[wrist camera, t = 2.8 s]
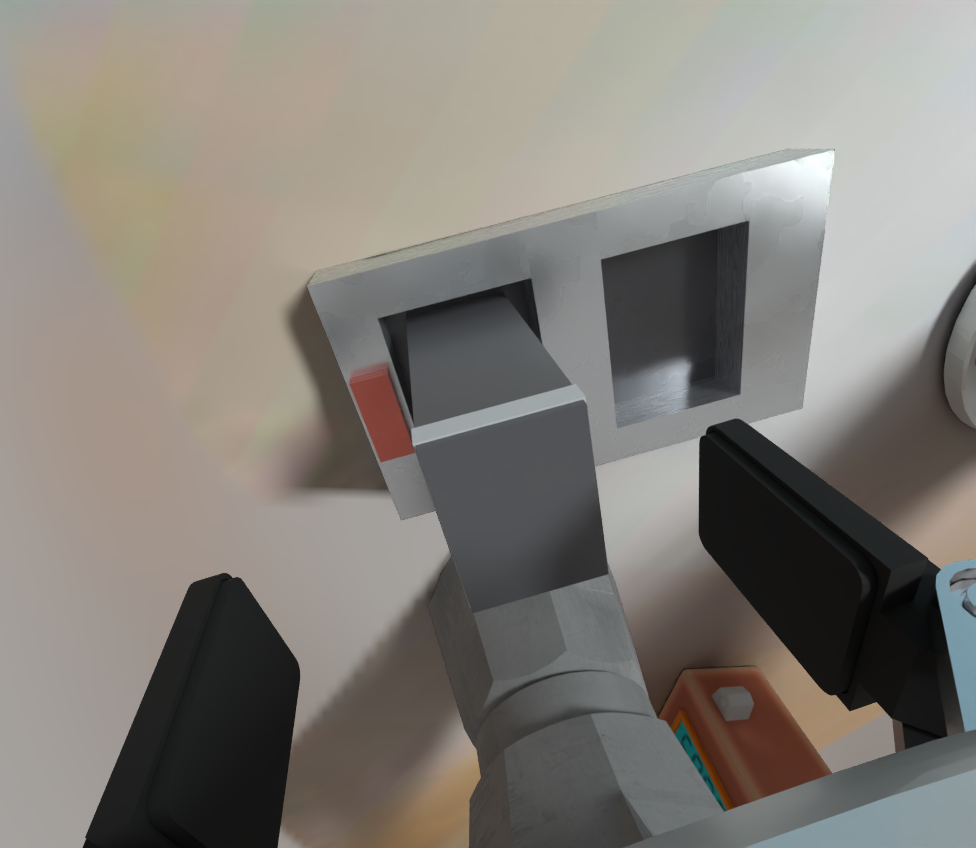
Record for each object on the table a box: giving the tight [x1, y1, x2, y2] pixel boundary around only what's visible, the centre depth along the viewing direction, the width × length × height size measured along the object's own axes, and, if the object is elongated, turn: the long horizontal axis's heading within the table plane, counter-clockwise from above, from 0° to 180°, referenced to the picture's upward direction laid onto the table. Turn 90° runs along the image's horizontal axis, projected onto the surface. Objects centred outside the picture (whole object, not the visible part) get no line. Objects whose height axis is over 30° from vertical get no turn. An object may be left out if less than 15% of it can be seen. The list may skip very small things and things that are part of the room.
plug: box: [406, 292, 609, 613], centre depth 14 cm, size 4×5×8 cm
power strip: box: [307, 149, 835, 520], centre depth 17 cm, size 16×9×2 cm, turn 102°
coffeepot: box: [428, 556, 724, 848], centre depth 17 cm, size 15×9×18 cm, turn 0°
